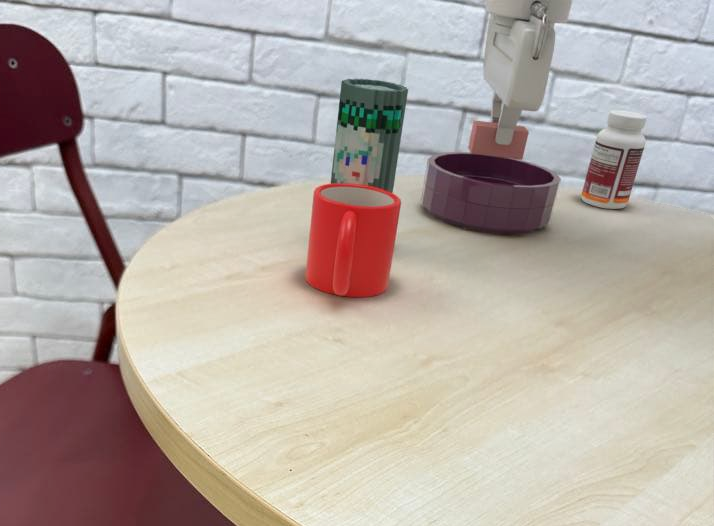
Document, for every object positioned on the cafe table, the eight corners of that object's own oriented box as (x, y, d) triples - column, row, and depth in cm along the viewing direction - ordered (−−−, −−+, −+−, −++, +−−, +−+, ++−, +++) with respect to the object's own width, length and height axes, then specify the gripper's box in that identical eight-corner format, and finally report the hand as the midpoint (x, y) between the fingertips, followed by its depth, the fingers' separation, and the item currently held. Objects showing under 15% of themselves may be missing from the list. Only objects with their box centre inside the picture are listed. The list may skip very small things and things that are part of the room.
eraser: (518, 154, 100) (524, 126, 98) (522, 159, 98) (529, 131, 96) (468, 147, 100) (473, 120, 98) (471, 153, 98) (476, 125, 96)
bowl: (535, 205, 110) (546, 160, 106) (559, 243, 97) (573, 193, 94) (415, 192, 109) (423, 146, 106) (425, 228, 97) (434, 177, 93)
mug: (295, 307, 74) (304, 214, 69) (309, 262, 83) (318, 178, 79) (385, 318, 74) (400, 226, 69) (388, 272, 83) (402, 189, 79)
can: (317, 244, 88) (334, 83, 79) (337, 229, 93) (355, 76, 84) (372, 256, 87) (395, 94, 78) (390, 241, 91) (414, 86, 82)
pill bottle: (617, 199, 117) (644, 111, 110) (632, 212, 112) (661, 121, 105) (574, 195, 116) (598, 106, 110) (587, 207, 111) (613, 116, 105)
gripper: (581, 11, 82) (542, 163, 90) (541, -6, 98) (511, 124, 106) (516, 3, 81) (483, 156, 90) (487, -13, 98) (462, 118, 106)
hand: (498, 139), depth 98 cm, fingers closed on eraser, 3 cm apart
